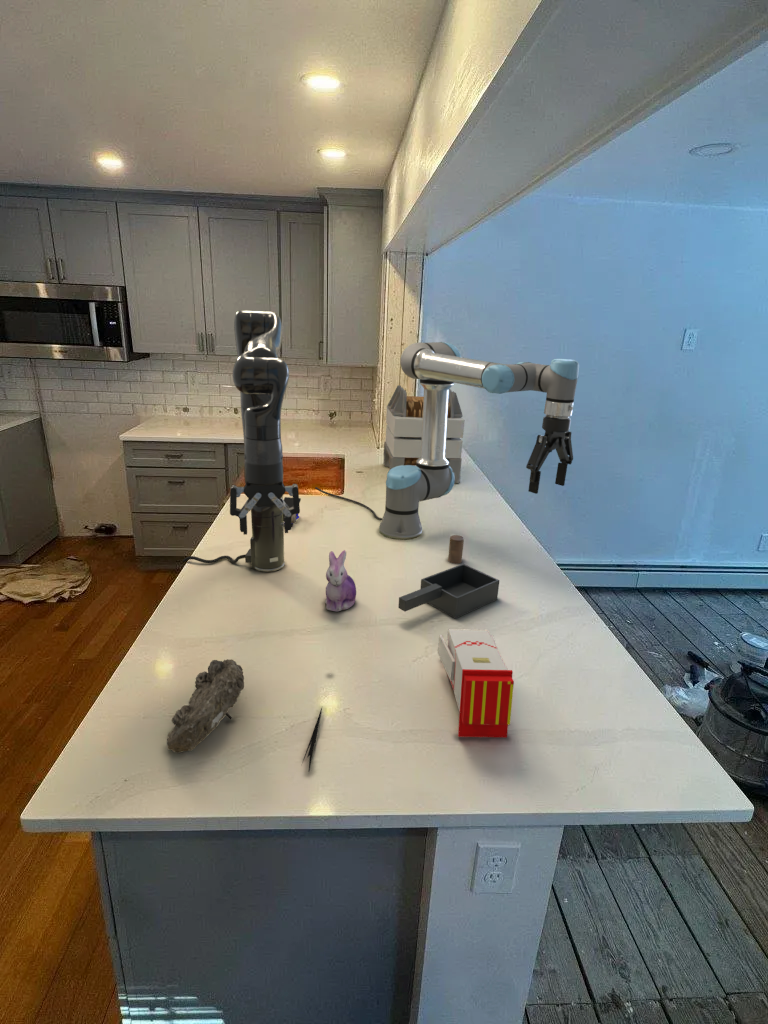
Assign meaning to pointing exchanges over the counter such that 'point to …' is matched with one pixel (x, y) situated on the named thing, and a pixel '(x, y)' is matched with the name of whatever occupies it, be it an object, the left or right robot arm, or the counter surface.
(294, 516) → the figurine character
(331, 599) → the figurine
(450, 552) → the walnut peg
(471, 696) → the toy
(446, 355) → the right robot arm
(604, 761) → the counter surface
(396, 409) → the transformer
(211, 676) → the fossil
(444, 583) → the bin
